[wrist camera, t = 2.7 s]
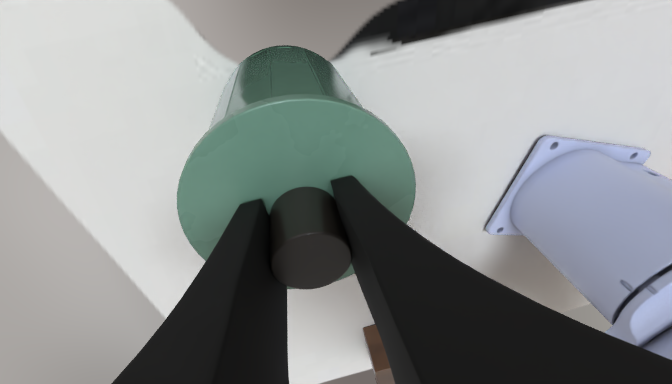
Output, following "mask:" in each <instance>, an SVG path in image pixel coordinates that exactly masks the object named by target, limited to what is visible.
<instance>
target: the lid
mask: <svg viewBox="0 0 672 384" xmlns="http://www.w3.org/2000/svg"><path fill="white" fill-rule="evenodd" d="M351 175H352V176H353V177H355V178H356V179H357V180H358V181H359V182H360V183H361V184H362V185H363V186H364V187H365V188H366V189H367V190H368V191H369V192H370V193H371V194H372V195H373V196H374V197H375V198H376V199H377V200H378V201H379V202H380V203H381V204H382V205H384V206H385V207H386V208H387V209H388V210H389V211H391V212H392V213H393V214H394V215H395V216H397V217H398V218H399V219H400V220H401V221H403V222H404V223H405V224H407V222H408V220H409V217H410V215H411V212H412V209H413V205H414V200H415V188H416V183H415V174H414V169H413V166H412V162H411V159H410V157H409V155H408V153H407V151H406V149H405V147H404V146H403V144H402V143H401V141H400V140H399V138H398V137H397V136H396V135H395V133H394V132H393V131H392V130H391V129H390V128H389V127H388V126H387V125H386V124H385V123H384V122H383V121H382V120H380V119H379V118H378V117H376V116H375V115H374V114H373V113H371V112H369V111H367V110H365V109H364V108H362V107H360V106H358V105H356V104H353V103H350V102H348V101H345V100H342V99H338V98H334V97H329V96H325V95H314V94H291V95H283V96H277V97H271V98H267V99H264V100H261V101H257V102H254V103H251V104H249V105H247V106H245V107H242V108H240V109H238V110H236V111H234V112H232V113H231V114H229V115H228V116H226V117H225V118H223V119H222V120H220V121H219V122H218V123H216V124H215V125H214V126H213V127H212V128H211V129H210V130H209V131H207V132H206V133H205V134H204V136H203V137H202V138H201V139H200V141H199V142H198V143H197V144H196V145H195V147H194V149H193V150H192V152H191V154H190V156H189V157H188V159H187V161H186V164H185V166H184V169H183V171H182V174H181V177H180V180H179V185H178V191H177V209H178V215H179V220H180V223H181V226H182V228H183V231H184V233H185V235H186V237H187V239H188V240H189V242H190V244H191V245H192V246H193V248H194V249H195V250H196V251H197V253H198V254H199V255H200V256H201V257H202V258H203V259H204V260H205V261H207V259H208V257H209V256H210V254H211V252H212V251H213V249H214V247H215V246H216V244H217V243H218V241H219V239H220V237H221V236H222V234H223V232H224V231H225V229H226V227H227V225H228V224H229V222H230V220H231V218H232V217H233V215H234V213H235V212H236V210H237V208H238V207H239V205H240V204H243V203H247V202H251V201H255V200H259V199H262V201H263V204H264V206H265V208H266V211H267V213H268V215H269V218H270V266H271V271H272V273H273V275H274V276H275V278H276V279H277V280H278V281H279V282H281V283H282V284H284V285H286V286H287V289H315V288H320V287H323V286H326V285H329V284H331V283H333V282H335V281H338V280H341V279H343V278H346V277H348V276H350V275H352V274H354V273H355V271H354V269H353V266H352V264H351V261H352V250H351V247H350V244H349V240H348V238H347V235H346V232H345V230H344V227H343V225H342V222H341V219H340V215H339V212H338V209H337V205H336V202H335V198H334V194H333V190H332V186H331V181H332V180H336V179H340V178H343V177H347V176H351Z"/></svg>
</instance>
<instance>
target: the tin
mask: <svg viewBox="0 0 672 384" xmlns="http://www.w3.org/2000/svg"><path fill="white" fill-rule="evenodd" d="M291 94H314V95H325V96H329V97H334V98H338V99H342V100H345V101H348V102H350V103H353V104H356V105H358V106H360V107H362V106H361V104H360V103H359V102H358V100H357V99H356V97H355V96H354V95H353V93H352V92H351V90H350V89H349V88H348V86H347V85H346V83H345V82H344V81H343V79H342V78H341V76H340V75H339V74H338V72H337V71H336V69H335V68H334V67H333V65H332V64H331V63H330V62H329V61H327V60H325V59H324V58H323V57H321V56H319V55H318V54H316V53H314V52H312V51H310V50H307V49H304V48H301V47H296V46H288V45H287V46H274V47H269V48H266V49H262V50H260V51H258V52H256V53H254V54H252V55H251V56H249V57H248V58H246V59H245V60H244V61H243V62H241V63H240V64H239V66H238V67H237V68H236V69H235V71H234V72H233V74H232V75H231V77H230V79H229V81H228V83H227V84H226V86H225V87H224V89H223V92H222V95H221V98H220V100H219V103H218V106H217V108H216V111H215V114H214V117H213V119H212V122H211V125H210V127H209V130H210V129H211V128H212V127H213V126H214V125H215V124H216V123H218V122H219V121H220V120H222V119H223V118H225V117H226V116H228V115H229V114H231V113H232V112H234V111H236V110H238V109H240V108H242V107H245V106H247V105H249V104H251V103H254V102H257V101H261V100H264V99H267V98H271V97H277V96H283V95H291ZM362 108H363V107H362ZM209 130H208V131H209Z"/></svg>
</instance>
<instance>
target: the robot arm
mask: <svg viewBox="0 0 672 384" xmlns="http://www.w3.org/2000/svg"><path fill="white" fill-rule="evenodd" d="M650 154H651V152H650V151H649V150H647V149H644V148H637V147H630V146H622V145H615V144H608V143H600V142H593V141H586V140H578V139H571V138H564V137H557V136H549V135H547V136H544V137H542V138H540V139H539V141H538V142H537V144H536V145H535V147H534V149H533V150H532V152H531V153H530V155H529V157H528V158H527V160H526V162H525V163H524V165H523V167H522V168H521V170H520V172H519V173H518V175H517V177H516V178H515V180H514V182H513V183H512V185H511V187H510V188H509V190H508V191H507V193H506V195H505V196H504V198H503V200H502V201H501V203H500V205H499V206H498V208H497V210H496V211H495V213H494V215H493V216H492V218H491V220H490V221H489V223H488V224H487V226H486V231H487V232H488V233H489V234H492V235H524V236H525V237H526V238H527V239H528V240H529V241H530V242H531V243H532V244H533V245H534V246H535V247H536V248H537V249H538V250H539V251H540V252H541V253H542V254H543V255H544V256H545V257H546V258H547V259H548V260H549V261H550V262H551V263H552V264H553V265H554V266H555V267H556V268H557V269H558V270H559V271H560V272H561V273H562V274H563V275H564V276H565V277H566V278H567V279H568V280H569V281H570V282H571V283H572V284H573V285H574V286H575V287H576V288H577V289H578V291H579V292H580V293H581V294H582V295H583V296H584V297H585V298H586V299H587V300H588V301H589V302H590V303H591V304H592V305H593V306H594V307H595V308H596V309H597V310H598V311H599V312H600V313H601V314H602V315H603V316H604V317H605V318H606V319H607V320H608V321H609V322H610V323H611V324H612V325H613V326H612V327H610V329H608V330H607V331H606V332H605V333H603V332H601V331H599V330H596V329H594V328H592V327H589V326H587V325H585V324H582V323H580V322H578V321H576V320H573V319H571V318H569V317H567V316H565V315H563V314H561V313H558V312H556V311H554V310H552V309H550V308H547V307H545V306H543V305H541V304H539V303H537V302H535V301H533V300H531V299H529V298H527V297H525V296H524V295H522V294H520V293H518V292H516V291H514V290H512V289H510V288H508V287H506V286H504V285H502V284H500V283H498V282H496V281H494V280H492V279H490V278H488V277H487V276H485V275H483V274H481V273H480V272H478V271H476V270H474V269H473V268H471V267H469V266H468V265H466V264H464V263H462V262H461V261H459V260H457V259H456V258H454V257H453V256H451V255H449V254H448V253H446V252H445V251H443V250H442V249H440V248H439V247H437V246H436V245H434V244H433V243H431V242H430V241H428V240H427V239H425V238H424V237H423V236H421V235H420V234H419V233H417V232H416V231H415V230H413V229H412V228H410V227H409V226H408V225H407V224H405V223H404V222H403V221H401V220H400V219H399V218H398V217H397V216H395V215H394V214H393V213H392V212H391V211H389V210H388V209H387V208H386V207H385V206H384V205H382V204H381V203H380V202H379V201H378V200H377V199H376V198H375V197H374V196H373V195H372V194H371V193H370V192H369V191H368V190H367V189H366V188H365V187H364V186H363V185H362V184H361V183H360V182H359V181H358V180H357V179H356V178H355V177H353V176H352V175H351V176H347V177H343V178H340V179H336V180H332V181H331V186H332V190H333V194H334V198H335V202H336V205H337V209H338V212H339V215H340V219H341V222H342V225H343V227H344V230H345V232H346V235H347V238H348V240H349V244H350V247H351V250H352V261H351V264H352V266H353V269H354V271H355V274H356V276H357V279H358V282H359V284H360V287H361V289H362V292H363V294H364V297H365V299H366V302H367V304H368V307H369V309H370V312H371V314H372V317H373V319H374V322H375V324H376V327H377V329H378V332H379V334H380V337H381V340H382V343H383V346H384V349H385V352H386V355H387V358H388V362H389V365H390V368H391V372H392V375H393V378H394V381H395V384H672V180H671V179H669V178H667V177H665V176H663V175H661V174H659V173H657V172H655V171H653V170H651V169H650V168H648V167H646V166H644V165H643V164H644V163H645V161H646V160H647V159H648V158H649V156H650ZM112 384H289V378H288V353H287V286H286V285H284V284H282V283H281V282H279V281H278V280H277V279H276V278H275V276H274V275H273V273H272V271H271V266H270V218H269V215H268V213H267V211H266V208H265V206H264V204H263V201H262V199H259V200H255V201H251V202H247V203H243V204H240V205H239V207H238V208H237V210H236V212H235V213H234V215H233V217H232V218H231V220H230V222H229V224H228V225H227V227H226V229H225V231H224V232H223V234H222V236H221V237H220V239H219V241H218V243H217V244H216V246H215V247H214V249H213V251H212V252H211V254H210V256H209V257H208V259H207V261H206V262H205V264H204V265H203V267H202V269H201V270H200V272H199V273H198V275H197V276H196V277H195V279H194V280H193V282H192V283H191V285H190V286H189V288H188V289H187V291H186V292H185V294H184V295H183V297H182V298H181V300H180V301H179V302H178V304H177V305H176V306H175V308H174V309H173V311H172V312H171V313H170V314H169V316H168V317H167V318H166V320H165V321H164V322H163V324H162V325H161V326H160V327H159V329H158V330H157V331H156V332H155V334H154V335H153V336H152V337H151V339H150V340H149V341H148V342H147V344H146V345H145V346H144V347H143V349H142V350H141V351H140V352H139V353H138V354H137V356H136V357H135V358H134V359H133V360H132V361H131V362H130V363H129V365H128V366H127V367H126V368H125V369H124V370H123V371H122V372H121V374H120V375H119V376H118V377H117V378H116V379H115V380H114V382H113V383H112Z"/></svg>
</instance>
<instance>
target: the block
mask: <svg viewBox="0 0 672 384" xmlns="http://www.w3.org/2000/svg"><path fill="white" fill-rule="evenodd" d="M363 331H364V335H365V340H366V344H367V349H368V353H369V356H370V360H371V364H372V367H373V371H374V375H375V379H376V382H377V384H395V381H394V378H393V375H392V372H391V368H390V365H389V362H388V358H387V355H386V352H385V349H384V346H383V343H382V340H381V337H380V334H379V332H378V329H377V327H376V324H375V325H372V326H368V327H364V328H363Z"/></svg>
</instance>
